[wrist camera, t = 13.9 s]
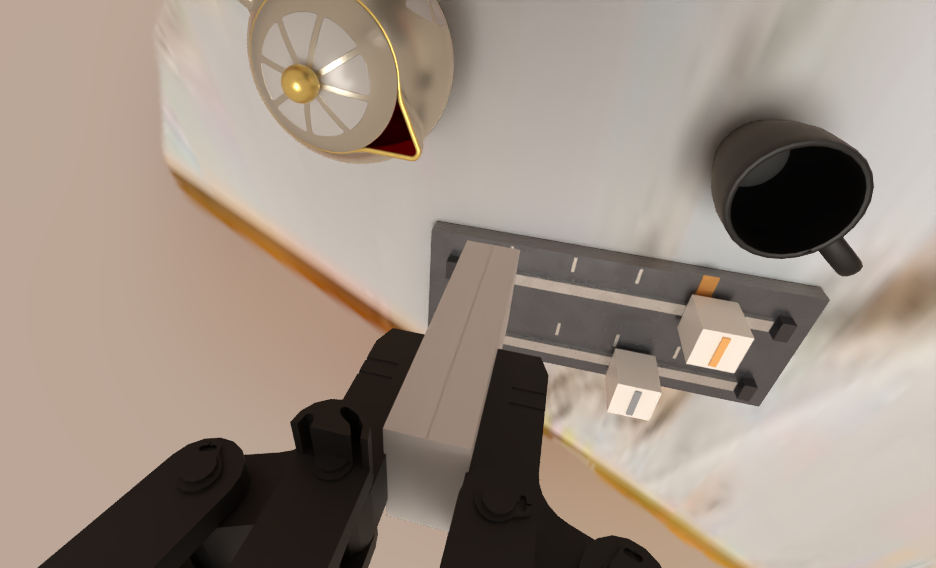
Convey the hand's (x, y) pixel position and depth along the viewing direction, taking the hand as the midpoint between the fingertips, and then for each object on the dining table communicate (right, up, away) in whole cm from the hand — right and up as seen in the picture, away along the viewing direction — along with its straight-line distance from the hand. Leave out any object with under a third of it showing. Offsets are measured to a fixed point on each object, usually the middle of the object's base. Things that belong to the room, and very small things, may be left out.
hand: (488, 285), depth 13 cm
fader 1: (+16, -9, +35) cm, 39 cm away
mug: (+24, +9, +24) cm, 35 cm away
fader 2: (+22, -3, +29) cm, 37 cm away
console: (+13, -3, +35) cm, 37 cm away
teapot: (-8, +21, +25) cm, 33 cm away
